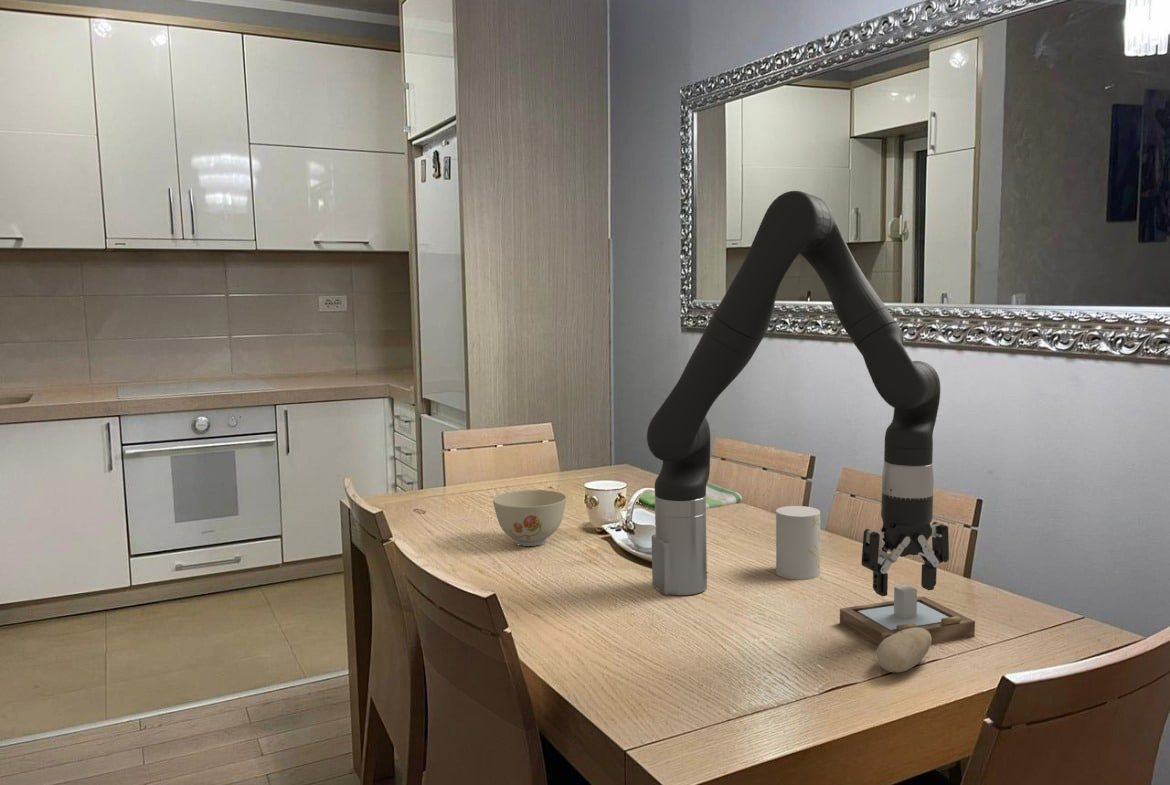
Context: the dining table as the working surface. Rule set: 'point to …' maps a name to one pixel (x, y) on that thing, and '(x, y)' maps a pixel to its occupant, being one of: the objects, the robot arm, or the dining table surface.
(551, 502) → the bowl
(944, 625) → the cabinet frame
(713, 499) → the dish towel
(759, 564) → the dining table surface
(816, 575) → the grey upright cylinder
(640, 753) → the dining table surface
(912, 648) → the stone
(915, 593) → the panel with block handle
